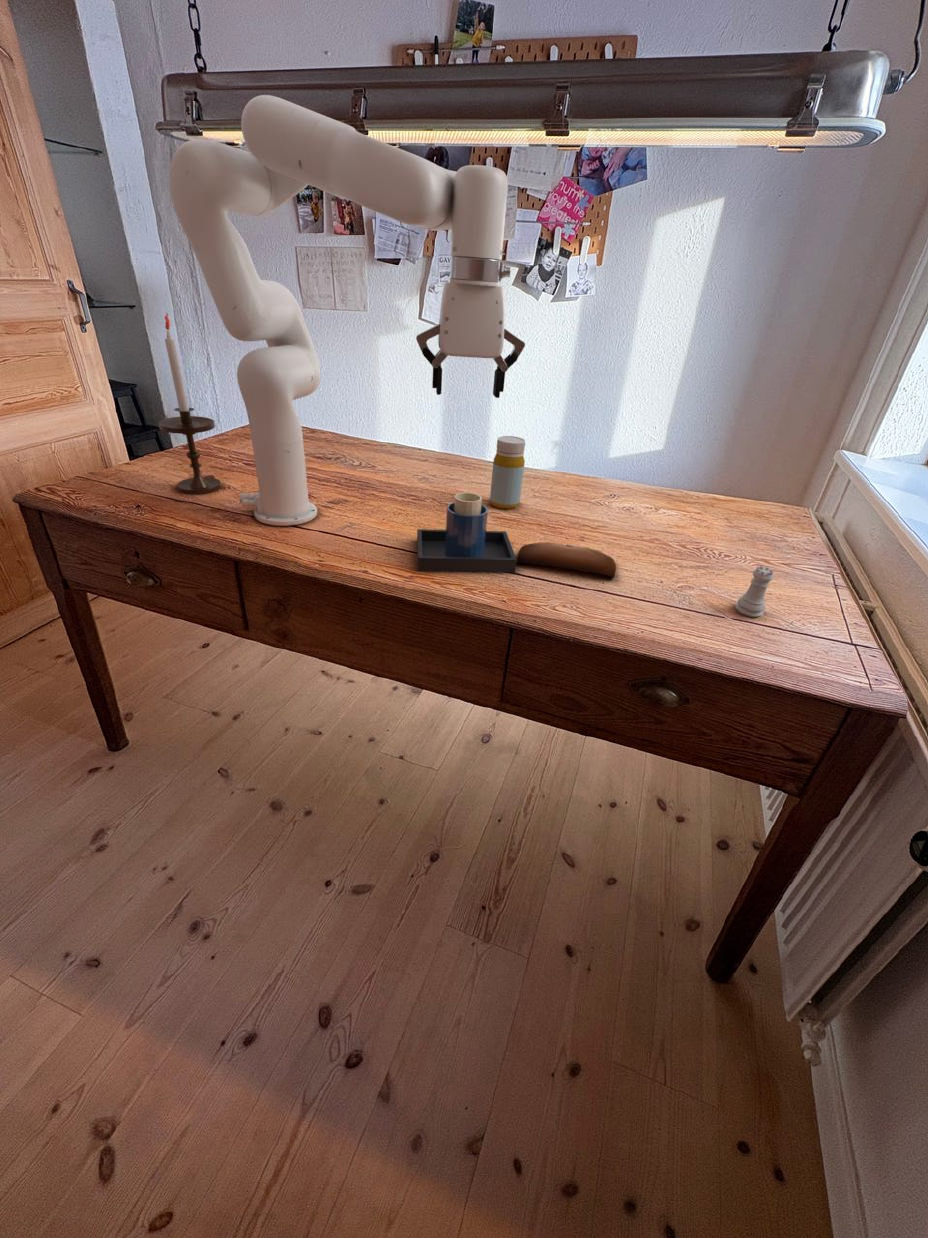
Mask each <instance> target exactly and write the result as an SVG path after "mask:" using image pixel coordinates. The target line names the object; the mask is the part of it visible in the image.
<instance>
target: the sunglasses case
mask: <svg viewBox="0 0 928 1238" xmlns="http://www.w3.org/2000/svg"><path fill="white" fill-rule="evenodd" d="M516 559H517V561H516V564H518V563H521V564H528V565H529V564H531V565H537V566H538V565H539V566H540V565H542V566H553V567H556V568H562V569H567V570H568V569H569V570H577V571H580V572H586V573H590V574H591V573H592V574H596V575H603V576H608V577H612V579H615V574H616V570H617V564H616V561H615V559H614V558H613V557H611V556H610V555H608V554H605V553H604V552H601V551H599V550H596V549H593V548H590V547H583V546H575V545H574V546H573V545H572V544H563V543H556V542H548V541H545V542H544V541H543V542H541V541H540V542H533V543H528V544H524V545H523V546H521V548H519V551H518V553H517V557H516Z"/></svg>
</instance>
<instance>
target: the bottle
mask: <svg viewBox="0 0 928 1238" xmlns="http://www.w3.org/2000/svg"><path fill="white" fill-rule="evenodd" d="M496 440H497V441H496V453H495V455H494V458H493V461H492V471H491V483H490V493H489V502H490V505H492V506H493V507H494V508H497V509H502V510H513V509H516V508H517V507H518V506H519V505H520V504H521V503H520V502H521V496H522V489H523V479H524V473H525V472H524V471H525V456H524V455H525V448H526V447H525V446H526V439H524V438H523V437H520V436H513V435H502V436H498V437H497V439H496Z"/></svg>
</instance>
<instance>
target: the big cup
mask: <svg viewBox="0 0 928 1238" xmlns="http://www.w3.org/2000/svg"><path fill="white" fill-rule="evenodd" d="M454 502H455V501H452V502H450V503H448V504H447V506H446V516H445V519H446V520H445V530H446V534H445V555H446V556H447V557H483V556H484V549H485V539H486V531H487V527H488V518H489V517H488V516H489V508H488V507H487V506H486V505H484V504H481V514H480V515H474V516H468V515H460V514H457V513H454Z"/></svg>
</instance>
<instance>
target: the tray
mask: <svg viewBox="0 0 928 1238" xmlns="http://www.w3.org/2000/svg"><path fill="white" fill-rule="evenodd" d="M445 534H446V529H425V528H424V529H423V528H420V529H417V530H416V548H417V549H416V550H417V570H418V572H456V573H457V572H458V573H462V572H463V573H466V572H468V573H516V569H517V557H516V555H515V551H514V549H513V546H512V544H511V541H510V539H509V535H508V533H507V531H506V530H505V531H504V530H503V531H502V530H486V539H485V549H484V556H483V557H447V556H446V555H445Z"/></svg>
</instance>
